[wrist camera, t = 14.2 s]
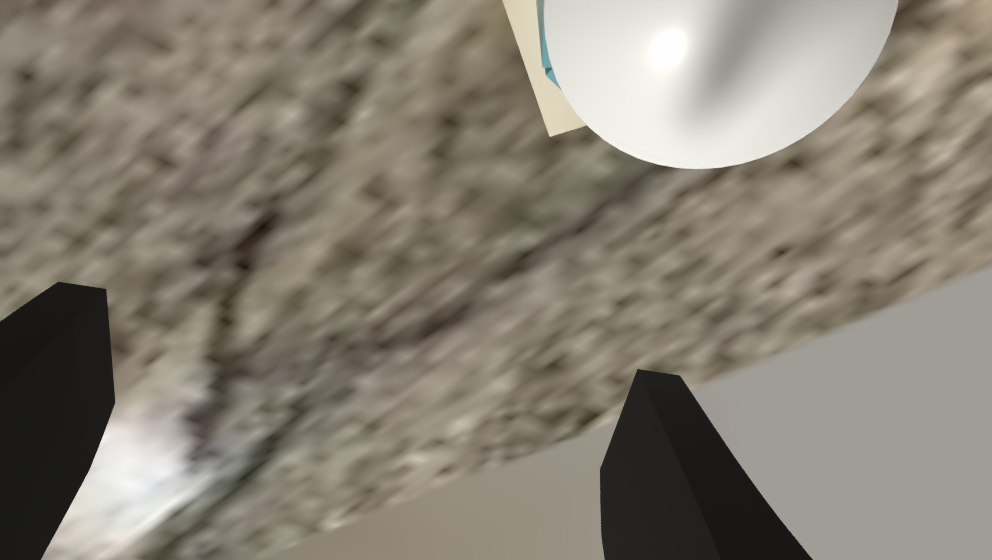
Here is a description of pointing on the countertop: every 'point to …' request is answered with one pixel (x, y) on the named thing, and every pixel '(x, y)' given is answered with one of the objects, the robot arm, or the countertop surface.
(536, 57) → the stud
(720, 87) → the cap
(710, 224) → the countertop surface
